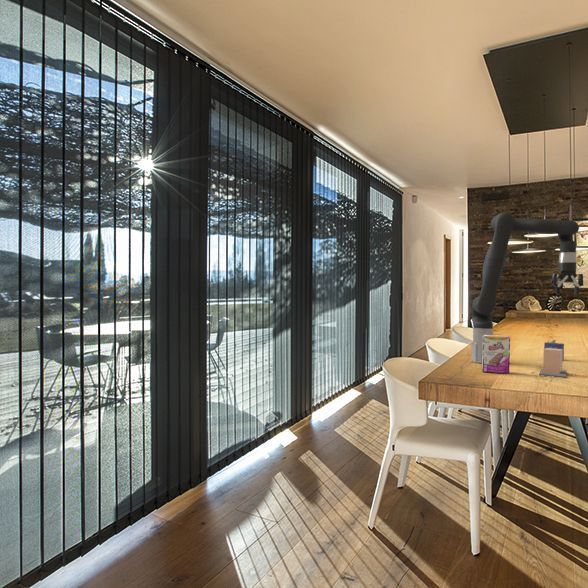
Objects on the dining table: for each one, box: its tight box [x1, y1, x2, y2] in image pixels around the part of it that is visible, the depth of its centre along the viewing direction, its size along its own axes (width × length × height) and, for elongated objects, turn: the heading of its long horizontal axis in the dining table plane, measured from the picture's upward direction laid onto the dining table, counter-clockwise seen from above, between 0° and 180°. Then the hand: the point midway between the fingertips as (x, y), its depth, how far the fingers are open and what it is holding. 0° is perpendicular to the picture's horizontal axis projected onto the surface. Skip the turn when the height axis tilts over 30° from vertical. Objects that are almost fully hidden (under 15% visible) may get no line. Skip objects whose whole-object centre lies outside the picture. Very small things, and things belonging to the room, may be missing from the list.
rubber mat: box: [538, 367, 567, 379], centre depth 210 cm, size 16×10×1 cm, turn 150°
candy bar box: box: [481, 334, 511, 375], centre depth 212 cm, size 11×5×16 cm, turn 71°
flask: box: [543, 339, 565, 360], centre depth 249 cm, size 9×3×11 cm, turn 50°
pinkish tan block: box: [542, 348, 564, 374], centre depth 210 cm, size 6×6×10 cm
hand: (567, 294), depth 236 cm, fingers open, 8 cm apart
